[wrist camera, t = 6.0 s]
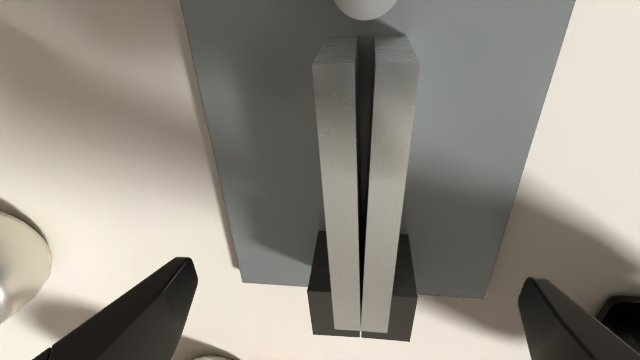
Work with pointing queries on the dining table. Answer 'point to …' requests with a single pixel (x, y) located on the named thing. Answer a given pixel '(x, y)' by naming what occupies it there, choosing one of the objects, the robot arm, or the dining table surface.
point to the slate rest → (427, 131)
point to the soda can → (211, 358)
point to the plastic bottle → (20, 264)
